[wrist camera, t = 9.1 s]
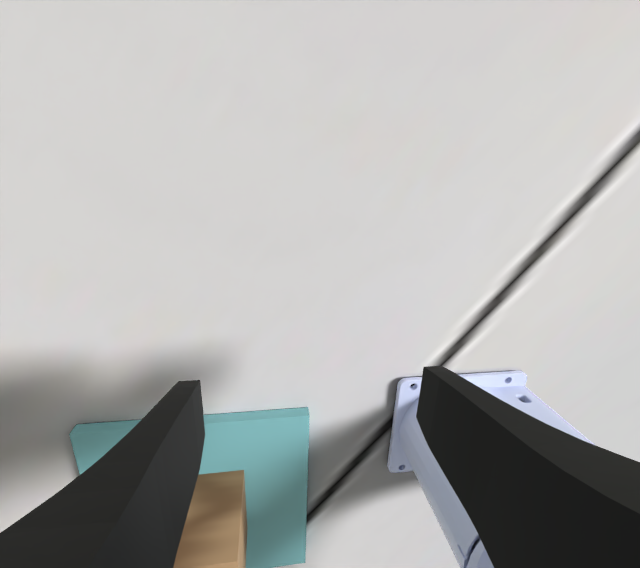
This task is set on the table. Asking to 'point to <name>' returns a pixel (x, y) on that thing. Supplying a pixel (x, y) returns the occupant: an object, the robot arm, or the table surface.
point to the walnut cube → (215, 523)
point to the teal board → (259, 471)
